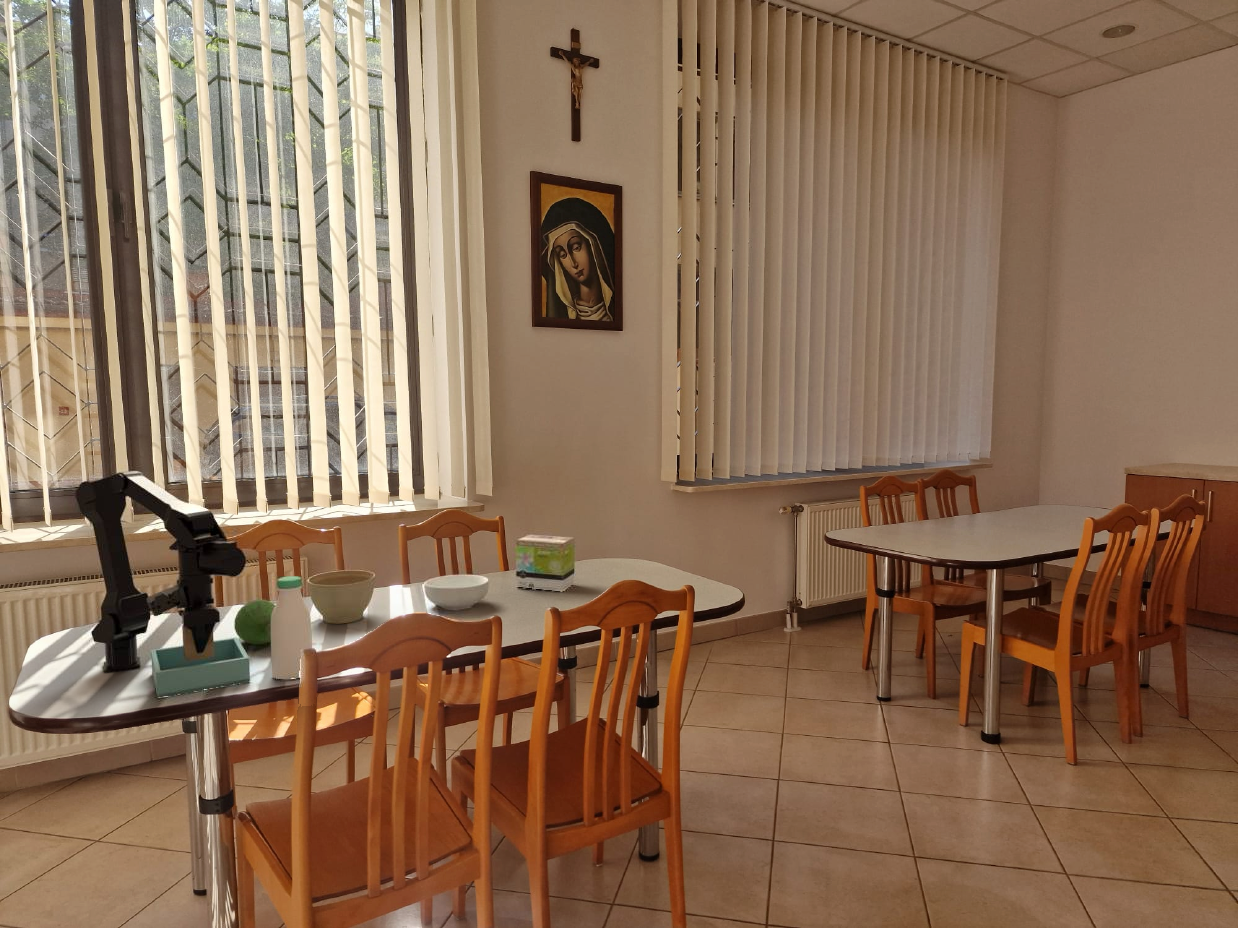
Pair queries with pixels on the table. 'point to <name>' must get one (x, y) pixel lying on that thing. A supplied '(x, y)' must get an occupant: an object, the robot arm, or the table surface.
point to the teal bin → (199, 668)
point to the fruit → (255, 622)
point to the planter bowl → (341, 594)
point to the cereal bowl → (456, 590)
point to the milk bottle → (289, 629)
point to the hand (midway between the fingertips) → (198, 649)
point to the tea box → (545, 562)
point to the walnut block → (190, 647)
